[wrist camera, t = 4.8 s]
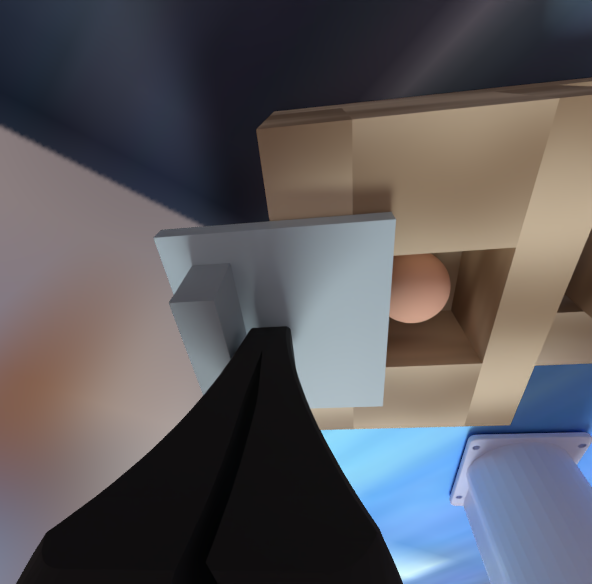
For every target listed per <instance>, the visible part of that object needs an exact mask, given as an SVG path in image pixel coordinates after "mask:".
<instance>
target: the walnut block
mask: <svg viewBox="0 0 592 584" xmlns="http://www.w3.org/2000/svg"><path fill="white" fill-rule="evenodd" d="M565 295H566V296H567V297H568V298H569V299H570V300H572V301H573V302H574V303H575V304H576V305H577V306H578V307H580V308H581V309H582V310H583V311H584V312H585V313H586V314H588V315H589V316H590V317H591V318H592V229H591V231H590V233H589V236H588V238H587V241H586V243H585V246H584V248H583V250H582V253H581V255H580V258H579V260H578V262H577V265H576V267H575V270H574V272H573V275H572V277H571V279H570V282H569V284H568V287H567V289H566V291H565Z"/></svg>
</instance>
